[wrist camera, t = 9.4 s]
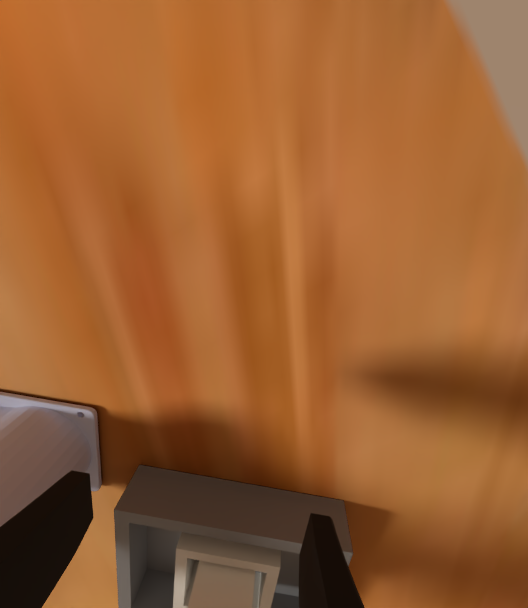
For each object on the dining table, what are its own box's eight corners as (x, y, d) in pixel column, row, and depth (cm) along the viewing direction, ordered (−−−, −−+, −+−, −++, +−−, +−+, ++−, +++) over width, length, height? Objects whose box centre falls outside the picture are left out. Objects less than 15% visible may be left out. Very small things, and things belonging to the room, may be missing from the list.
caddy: (140, 563, 27) (117, 617, 24) (139, 464, 23) (112, 512, 20) (313, 595, 27) (317, 656, 23) (343, 500, 23) (353, 556, 19)
